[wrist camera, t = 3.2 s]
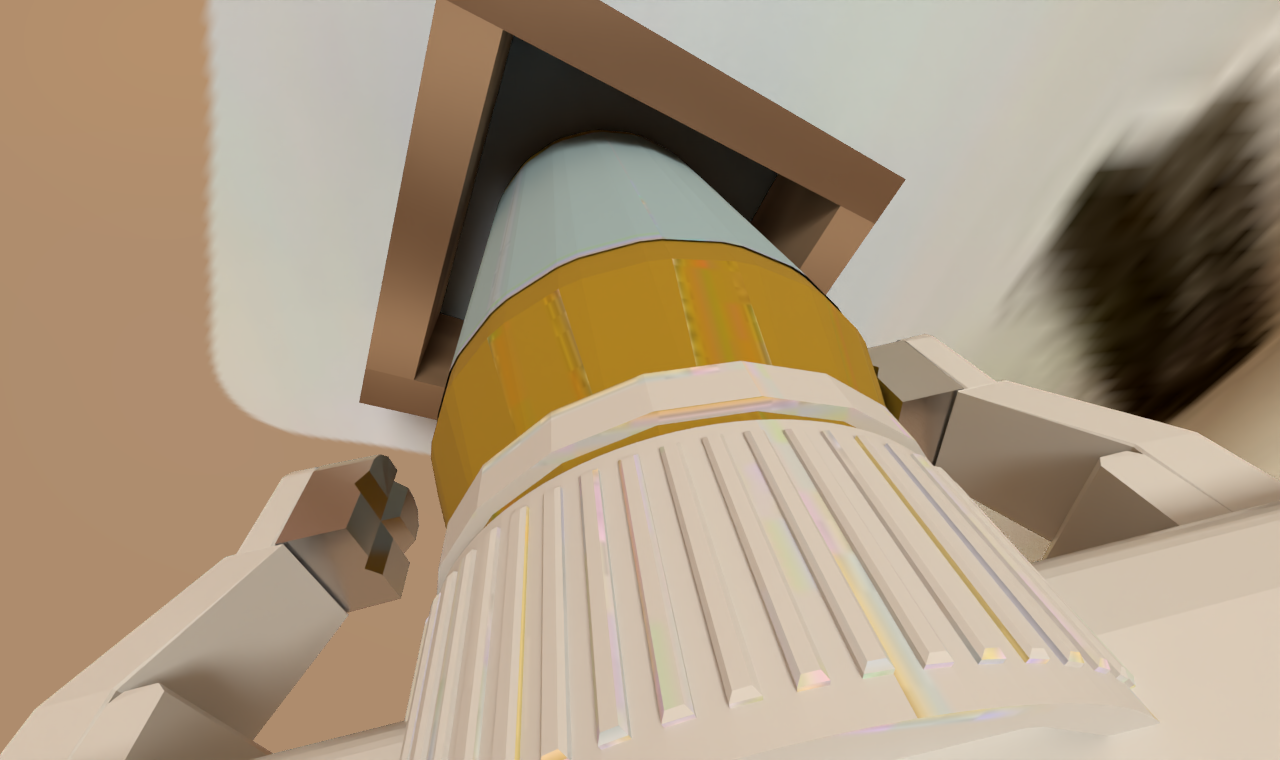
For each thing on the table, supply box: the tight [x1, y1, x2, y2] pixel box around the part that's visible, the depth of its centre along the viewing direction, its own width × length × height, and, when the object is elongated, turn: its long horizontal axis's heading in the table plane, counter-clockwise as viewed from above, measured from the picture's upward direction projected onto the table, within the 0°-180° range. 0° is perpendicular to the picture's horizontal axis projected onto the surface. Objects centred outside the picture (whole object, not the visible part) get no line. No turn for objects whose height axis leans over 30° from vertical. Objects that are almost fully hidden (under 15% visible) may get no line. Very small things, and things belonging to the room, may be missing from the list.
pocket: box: [359, 0, 906, 420], centre depth 14 cm, size 11×11×4 cm
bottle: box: [399, 130, 1160, 760], centre depth 10 cm, size 7×7×15 cm
